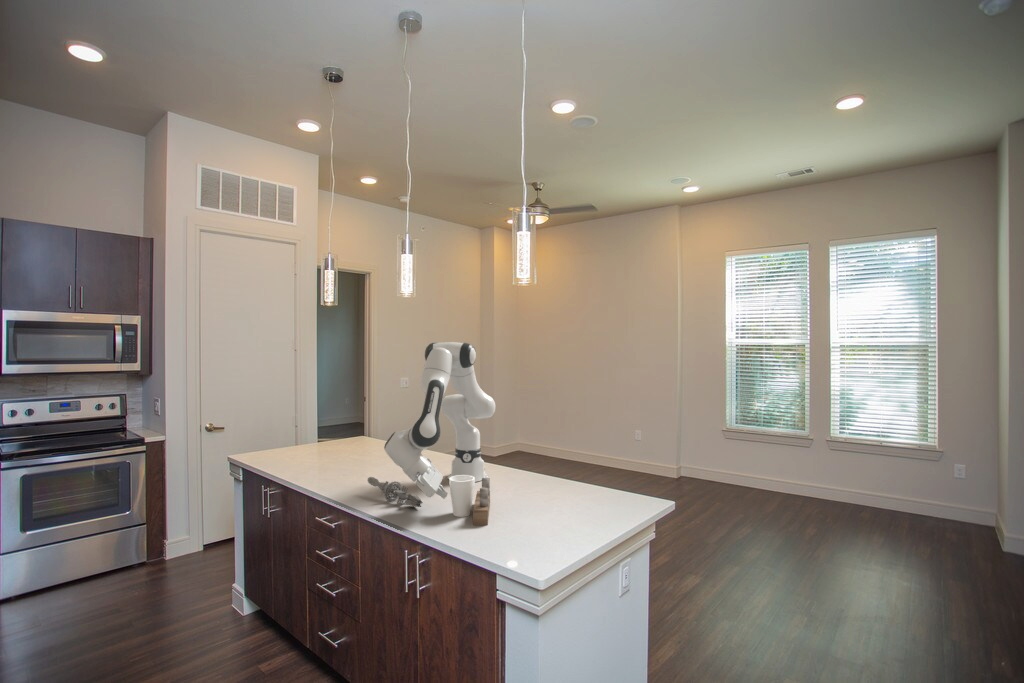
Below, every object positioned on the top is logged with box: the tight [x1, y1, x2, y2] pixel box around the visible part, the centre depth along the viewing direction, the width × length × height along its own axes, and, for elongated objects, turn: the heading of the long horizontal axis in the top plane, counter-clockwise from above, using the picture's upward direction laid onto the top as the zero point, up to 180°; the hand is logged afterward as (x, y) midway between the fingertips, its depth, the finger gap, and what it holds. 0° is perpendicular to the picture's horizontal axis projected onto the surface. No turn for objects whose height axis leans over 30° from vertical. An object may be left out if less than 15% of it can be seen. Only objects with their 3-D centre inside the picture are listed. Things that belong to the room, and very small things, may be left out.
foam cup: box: [448, 475, 476, 518], centre depth 186 cm, size 10×9×13 cm
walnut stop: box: [472, 477, 491, 526], centre depth 187 cm, size 24×5×11 cm, turn 1°
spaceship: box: [367, 476, 423, 508], centre depth 202 cm, size 8×35×8 cm
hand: (446, 496), depth 186 cm, fingers closed
